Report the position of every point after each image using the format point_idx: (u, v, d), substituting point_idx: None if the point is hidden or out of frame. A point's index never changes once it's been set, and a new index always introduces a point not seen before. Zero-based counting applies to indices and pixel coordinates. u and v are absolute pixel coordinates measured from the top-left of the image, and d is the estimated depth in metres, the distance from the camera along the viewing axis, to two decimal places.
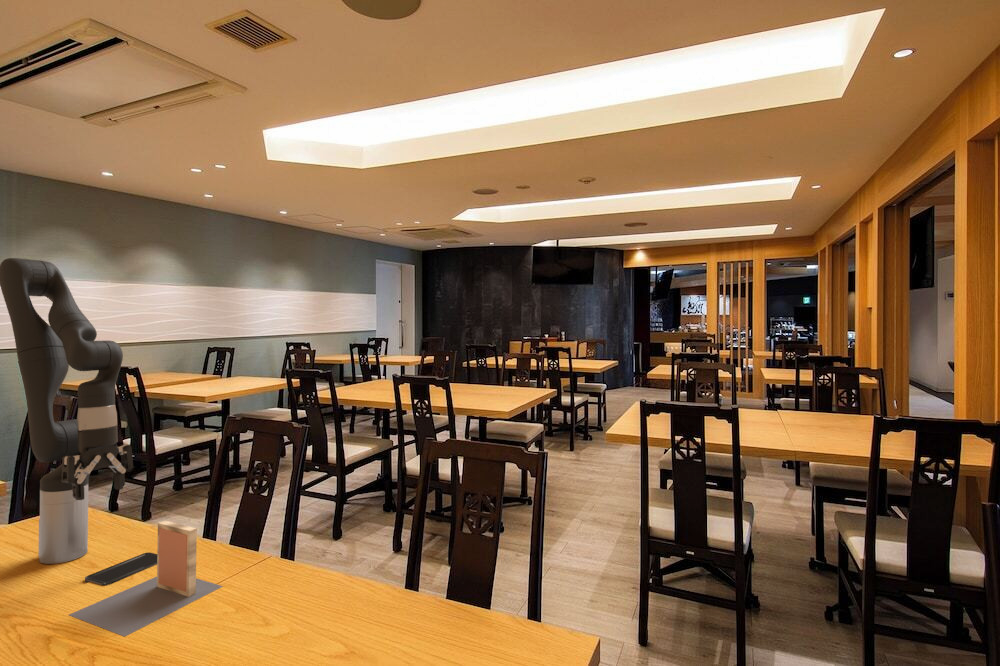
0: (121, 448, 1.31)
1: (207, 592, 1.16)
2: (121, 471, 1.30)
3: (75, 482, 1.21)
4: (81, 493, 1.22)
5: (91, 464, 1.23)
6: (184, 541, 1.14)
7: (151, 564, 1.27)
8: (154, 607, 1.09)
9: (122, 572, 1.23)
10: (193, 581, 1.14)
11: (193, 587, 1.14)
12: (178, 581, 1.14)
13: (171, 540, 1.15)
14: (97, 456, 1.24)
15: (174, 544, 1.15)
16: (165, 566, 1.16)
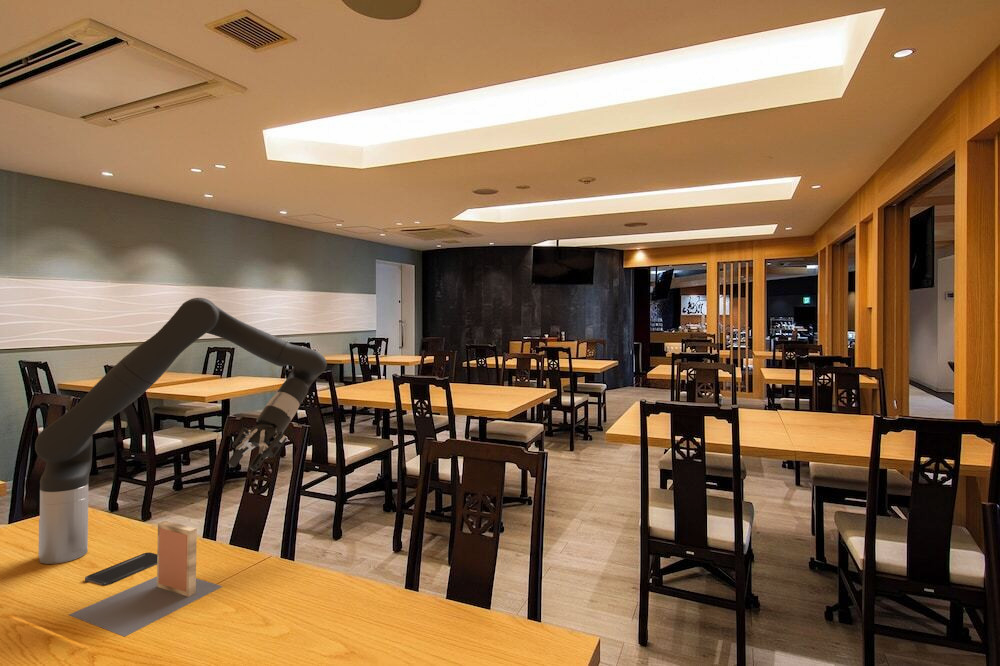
0: None
1: (207, 592, 1.16)
2: None
3: None
4: None
5: None
6: (184, 541, 1.14)
7: (151, 564, 1.27)
8: (154, 607, 1.09)
9: (122, 572, 1.23)
10: (193, 581, 1.14)
11: (193, 587, 1.14)
12: (178, 581, 1.14)
13: (171, 540, 1.15)
14: None
15: (174, 544, 1.15)
16: (165, 566, 1.16)
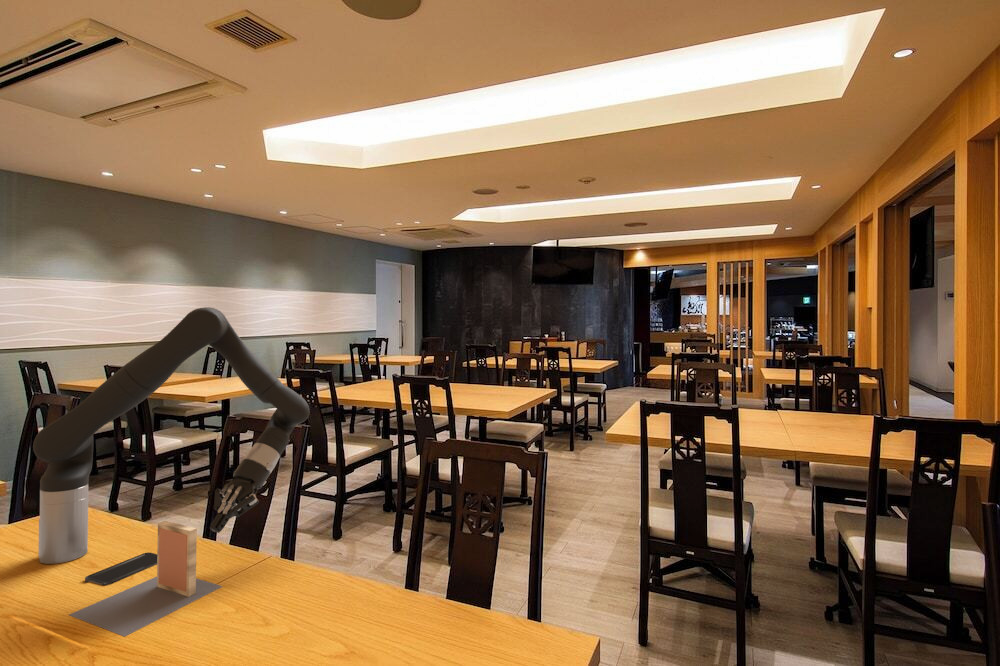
0: None
1: (207, 592, 1.16)
2: None
3: None
4: None
5: None
6: (184, 541, 1.14)
7: (151, 564, 1.27)
8: (154, 607, 1.09)
9: (122, 572, 1.23)
10: (193, 581, 1.14)
11: (193, 587, 1.14)
12: (178, 581, 1.14)
13: (171, 540, 1.15)
14: None
15: (174, 544, 1.15)
16: (165, 566, 1.16)
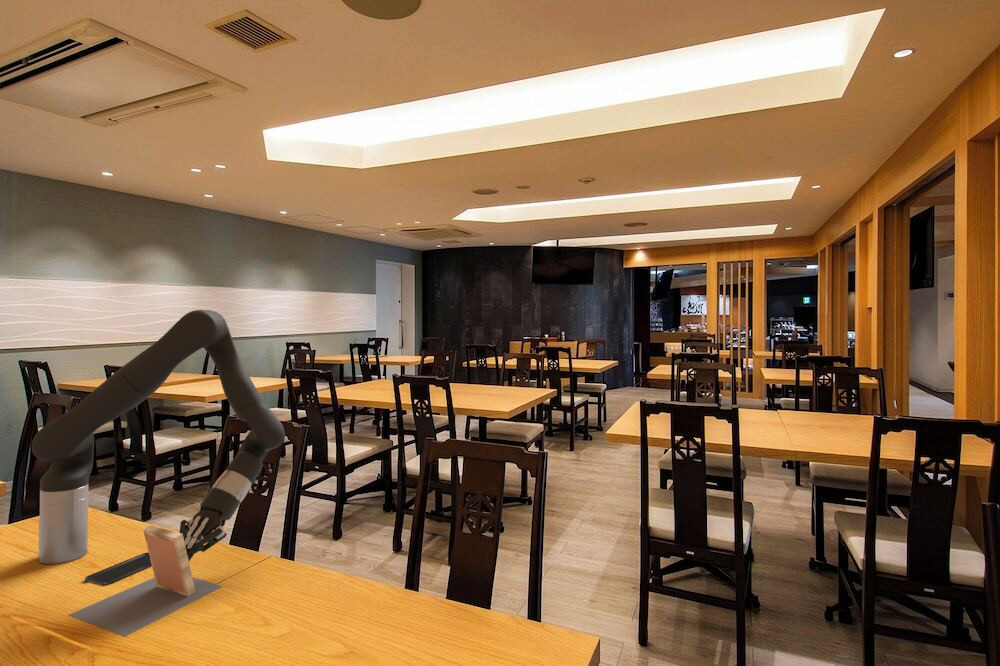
0: None
1: (207, 592, 1.16)
2: None
3: None
4: None
5: None
6: (172, 547, 1.11)
7: (151, 564, 1.27)
8: (154, 607, 1.09)
9: (122, 572, 1.23)
10: (190, 582, 1.14)
11: (191, 587, 1.14)
12: (175, 583, 1.14)
13: (160, 546, 1.13)
14: None
15: (163, 550, 1.13)
16: (160, 569, 1.15)
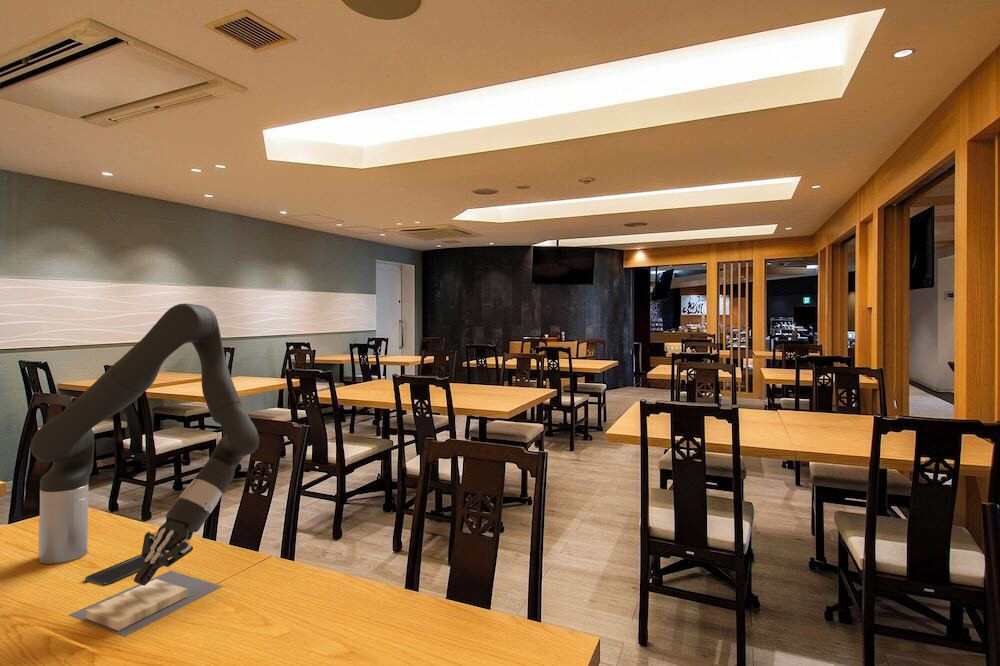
0: None
1: (207, 592, 1.16)
2: None
3: None
4: None
5: None
6: None
7: None
8: None
9: (122, 572, 1.23)
10: (175, 597, 1.11)
11: (181, 594, 1.12)
12: None
13: None
14: None
15: None
16: None
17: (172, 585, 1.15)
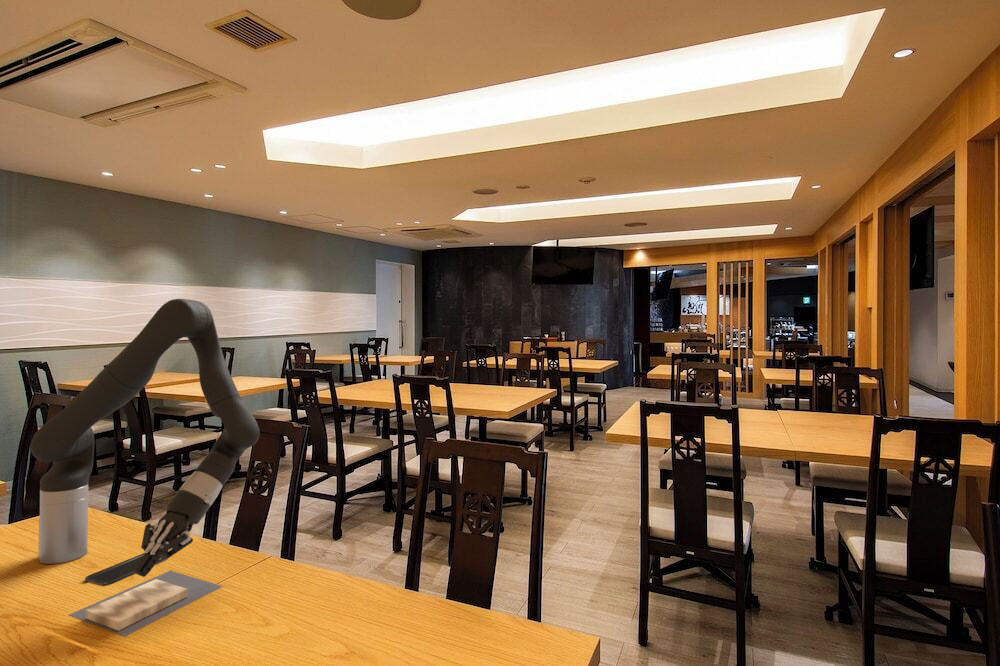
0: None
1: (207, 592, 1.16)
2: None
3: None
4: None
5: None
6: None
7: None
8: None
9: (122, 572, 1.23)
10: (175, 597, 1.11)
11: (181, 594, 1.12)
12: None
13: None
14: None
15: None
16: None
17: (172, 585, 1.15)
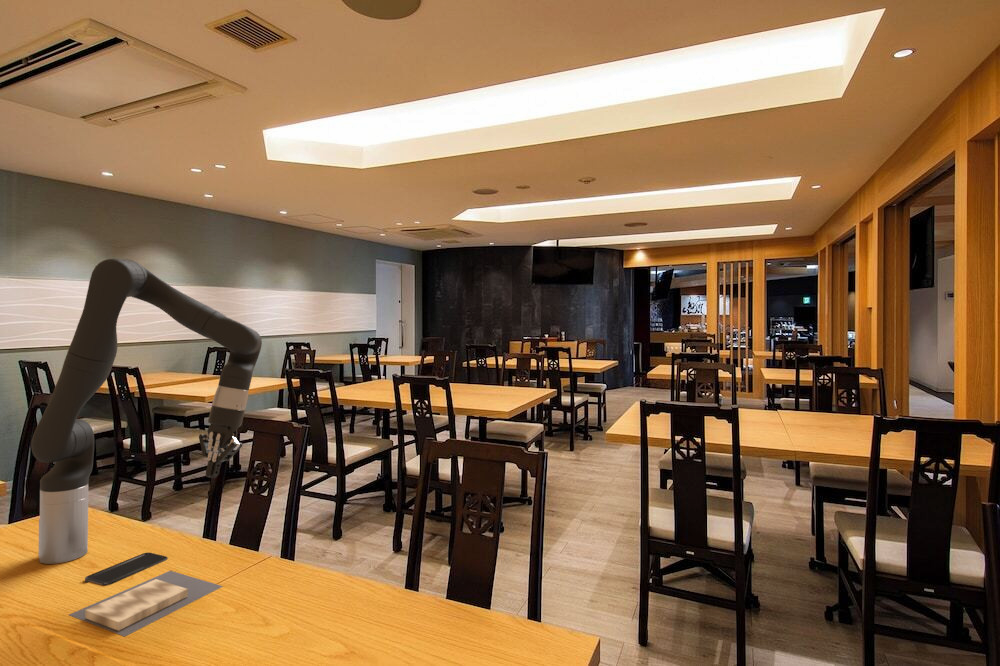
0: None
1: (207, 592, 1.16)
2: None
3: (222, 460, 1.31)
4: None
5: None
6: None
7: (151, 564, 1.27)
8: None
9: (122, 572, 1.23)
10: (175, 597, 1.11)
11: (181, 594, 1.12)
12: None
13: None
14: None
15: None
16: None
17: (172, 585, 1.15)
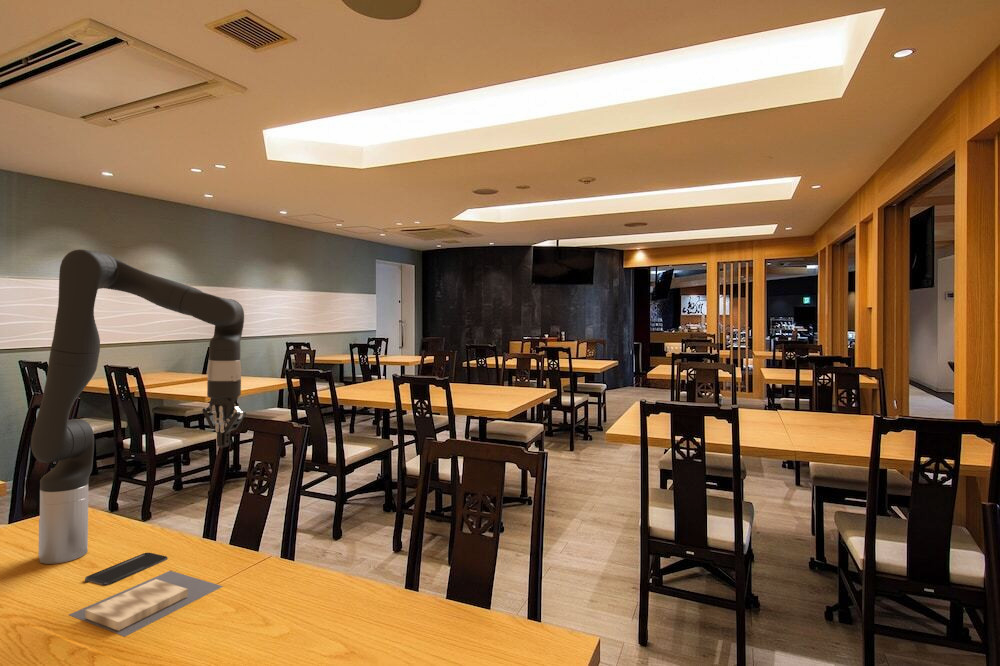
0: None
1: (207, 592, 1.16)
2: None
3: None
4: None
5: None
6: None
7: (151, 564, 1.27)
8: None
9: (122, 572, 1.23)
10: (175, 597, 1.11)
11: (181, 594, 1.12)
12: None
13: None
14: None
15: None
16: None
17: (172, 585, 1.15)
